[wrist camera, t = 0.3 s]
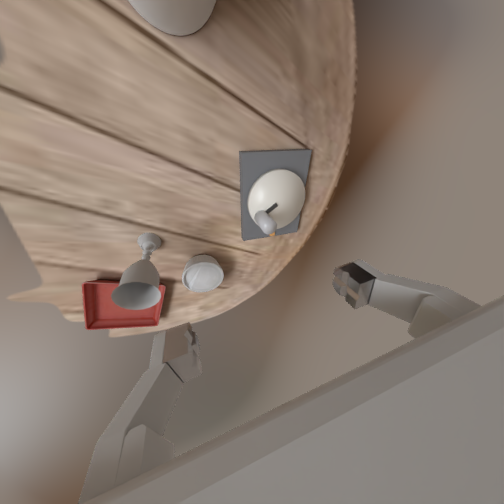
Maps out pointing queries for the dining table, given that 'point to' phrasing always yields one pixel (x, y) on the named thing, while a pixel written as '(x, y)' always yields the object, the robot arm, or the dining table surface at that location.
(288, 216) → the dial
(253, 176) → the dial board
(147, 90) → the dining table surface
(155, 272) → the chalice
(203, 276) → the ramekin
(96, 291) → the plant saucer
